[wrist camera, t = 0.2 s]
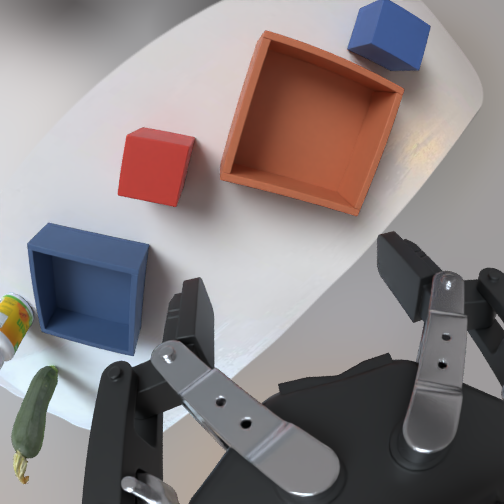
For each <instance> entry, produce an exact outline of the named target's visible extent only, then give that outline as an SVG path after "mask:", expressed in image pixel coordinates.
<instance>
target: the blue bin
mask: <svg viewBox="0 0 504 504" xmlns="http://www.w3.org/2000/svg"><path fill="white" fill-rule="evenodd" d="M27 247H28V256H29V264H30V272H31V279H32V286H33V292H34V297H35V303H36V308H37V313H38V318H39V322H40V327H41V331H42V332H44V333H47V334H51V335H54V336H57V337H60V338H64V339H67V340H71V341H74V342H78V343H81V344H85V345H89V346H92V347H96V348H100V349H104V350H108V351H112V352H116V353H121V354H125V355H130V356H134V353H135V349H136V345H137V341H138V337H139V333H140V329H141V317H142V305H143V294H144V283H145V274H146V265H147V257H148V249H149V244H145V243H140V242H135V241H130V240H126V239H121V238H116V237H112V236H107V235H102V234H98V233H93V232H88V231H84V230H79V229H74V228H70V227H65V226H61V225H56V224H52V223H48V224H47V225H45V226H44V227H43V228H42V229H41V230H40V231H39V232H38V233H37V234H36V235H35V236H34V237H33V238H32V239H31V240H30V241H29V242H28V243H27Z"/></svg>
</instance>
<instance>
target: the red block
mask: <svg viewBox="0 0 504 504" xmlns="http://www.w3.org/2000/svg"><path fill="white" fill-rule="evenodd" d="M194 140H195V137H191V136H186V135H181V134H176V133H171V132H166V131H161V130H155V129H149V128H144V127H143V128H140V129H138V130H136V131H134V132H132V133H130V134H128V135H127V136H126V142H125V147H124V153H123V159H122V166H121V173H120V180H119V188H118V195H119V196H124V197H129V198H134V199H139V200H144V201H149V202H154V203H159V204H164V205H169V206H173V207H176V206H177V204H178V201H179V198H180V196H181V193H182V190H183V188H184V183H185V178H186V174H187V170H188V165H189V161H190V157H191V153H192V149H193V144H194Z"/></svg>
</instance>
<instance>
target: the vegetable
mask: <svg viewBox="0 0 504 504" xmlns="http://www.w3.org/2000/svg"><path fill="white" fill-rule="evenodd" d="M57 373H58V369H56V367H55V366H45V367H44V368H41V369H40V370H39V371H38V372H37V374H36V375H35V376H34V377H33V379H32V381H31V383H30V386H29V388H28V391H27V393H26V396H25V398H24V400H23V402H22V405H21V408H20V410H19V412H18V414H17V417H16V420H15V423H14V426H13V430H12V436H11V438H12V445H13V447H14V449H15V451H16V454H14V464H13V465H14V470H15V473H16V476H17V477H18V479H19V480H20V482H22V483H23V484H26V483H27V481H28V480H29V476H26V477H24V473H25V471H26V467H27V462H28V461H27V460H26V458H33V457H35V456H36V455H37V454H38V453H39V451H40V449H41V447H42V442H43V438H44V431H45V422H46V412H47V408H48V404H49V402H50V400H51V398H52V395H53V393H54V390H55V387H56V385H57V382H58V378H57V377H58V374H57Z"/></svg>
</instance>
